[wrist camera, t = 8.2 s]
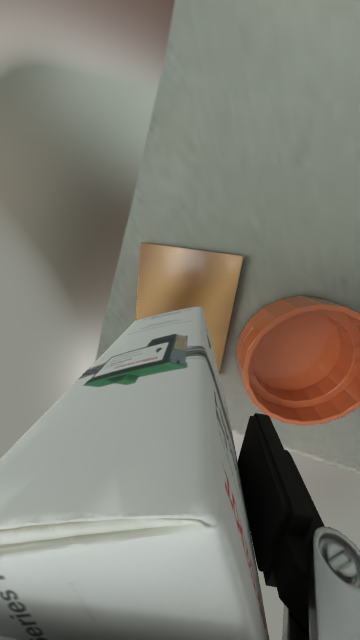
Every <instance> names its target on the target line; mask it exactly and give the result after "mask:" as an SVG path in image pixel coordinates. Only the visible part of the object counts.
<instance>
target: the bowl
mask: <svg viewBox="0 0 360 640" xmlns="http://www.w3.org/2000/svg"><path fill="white" fill-rule="evenodd" d="M236 360H237V367H238V370H239V373H240V376H241V378H242V381H243V384H244V387H245V389H246V391H247V393H248V395H249V396H250V398H251V400H252V402H253V403H254V404H255V405H256V406H257V407H258V408H259V409H260V410H261V411H263V412H264V413H265V414H266V415H268V416H270V417H272V418H274V419H277V420H279V421H281V422H283V423H289V424H296V425H303V426H304V425H314V424H323V423H327V422H330V421H333V420H336V419H339V418H342V417H343V416H346V415H347V414H349V413H350V412H352V411H354V410H355V409H357V408H358V407H360V314H359V313H357V312H355V311H353V310H351V309H349V308H347V307H345V306H342V305H339V304H336V303H333V302H331V301H328V300H325V299H322V298H317V297H309V296H295V297H289V298H283V299H280V300H278V301H276V302H274V303H271V304H269V305H267V306H265V307H263V308H262V309H261V310H260V311H259V312H257V313H256V314H255V315H254V316H253V317H252V318H251V319H250V320H249V321H248V322H247V324H246V326H245V327H244V329H243V330H242V332H241V334H240V336H239V339H238V343H237V348H236Z"/></svg>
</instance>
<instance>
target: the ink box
mask: <svg viewBox="0 0 360 640" xmlns="http://www.w3.org/2000/svg"><path fill="white" fill-rule="evenodd" d="M0 636H3V637H9V638H14V639H20V640H269V635H268V630H267V624H266V618H265V612H264V607H263V601H262V595H261V589H260V584H259V578H258V572H257V566H256V561H255V555H254V550H253V544H252V538H251V533H250V526H249V521H248V516H247V510H246V505H245V500H244V494H243V489H242V484H241V479H240V473H239V467H238V462H237V457H236V452H235V446H234V441H233V436H232V430H231V425H230V420H229V416H228V411H227V406H226V402H225V397H224V393H223V389H222V385H221V380H220V376H219V372H218V368H217V363H216V359H215V355H214V351H213V347H212V343H211V338H210V334H209V330H208V326H207V322H206V318H205V314H204V311H203V308H202V307H191V308H185V309H181V310H176V311H171V312H167V313H163V314H158V315H155V316H150V317H147V318H143V319H139V320H136V321H134V322H133V323H132V324H131V326H130V327H129V328H128V329H127V330H126V331H125V332H124V333H123V334H122V335H121V336H120V337H119V338H118V339H117V340H116V341H115V342H114V343H113V344H112V345H111V346H110V347H109V348H108V349H107V350H106V351H105V352H104V353H103V354H102V355H101V356H100V357H99V358H98V360H97V361H96V362H95V363H94V364H93V365H92V366H91V367H90V368H89V369H88V370H87V371H86V372H85V373H84V374H83V375H82V376H81V377H80V378H79V379H78V380H77V381H76V382H75V383H74V384H73V385H72V386H71V387H70V388H69V389H68V390H67V391H66V392H65V393H64V394H63V395H62V396H61V397H60V398H59V399H58V400H57V402H56V403H55V404H54V405H53V406H52V407H50V408H49V409H48V411H47V412H46V413H45V414H44V415H43V416H42V417H41V418H40V419H39V420H38V421H37V422H36V423H35V424H34V425H33V426H32V427H31V428H30V429H29V430H28V431H27V432H26V433H25V434H24V435H23V436H22V437H21V438H20V439H19V440H18V442H16V443H15V445H14V446H12V448H11V449H10V450H9V451H8V452H7V453H6V454H5V455H4V456H3V457H2V458H1V459H0Z"/></svg>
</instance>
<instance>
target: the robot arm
mask: <svg viewBox="0 0 360 640" xmlns="http://www.w3.org/2000/svg"><path fill="white" fill-rule="evenodd" d="M238 467H239V473H240V479H241V484H242V489H243V494H244V500H245V505H246V510H247V516H248V521H249V526H250V531H251V537H252V542H253V547H254V552H255V557H256V562H257V566H258V569H259V571H262V572H263V574H264V578H265V583H266V585H267V586H273V587H277V590H278V594H279V598H280V599H281V601H282V602H283V603H284V615H283V616H284V617H283V636H282V640H360V550H359V549H358V548H357V546H356V545H355V544H354V543H353V542H352V541H351V540H349V539H348V537H346V536H345V535H343V534H342V533H341V532H339V531H337V530H335V529H333V528H330V527H325V526H324V524H323V522H322V520H321V518H320V516H319V514H318V511H317V509H316V507H315V505H314V503H313V501H312V499H311V497H310V494H309V492H308V490H307V488H306V486H305V484H304V482H303V480H302V478H301V475H300V473H299V471H298V469H297V467H296V465H295V463H294V461H293V458H292V456H291V455H290V453H289V452H288V451H287V450H284V448H283V446H282V444H281V441H280V439H279V437H278V435H277V432H276V430H275V428H274V426H273V424H272V421H271V419H270V417H269V416H268V415H264V414H257V413H255V414H254V416H250V418H249V422H248V425H247V429H246V433H245V436H244V440H243V444H242V448H241V451H240V455H239V459H238ZM0 640H20V639H14V638H9V637H3V636H0Z"/></svg>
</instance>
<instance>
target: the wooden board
mask: <svg viewBox="0 0 360 640" xmlns="http://www.w3.org/2000/svg"><path fill="white" fill-rule="evenodd" d="M243 257H244V256H240V255H232V254H225V253H217V252H210V251H202V250H194V249H187V248H179V247H172V246H164V245H156V244H149V243H141V249H140V264H139V279H138V294H137V309H136V320H139V319H143V318H147V317H150V316H155V315H158V314H163V313H167V312H171V311H176V310H181V309H185V308H191V307H202V308H203V311H204V314H205V318H206V322H207V326H208V330H209V334H210V338H211V343H212V347H213V351H214V355H215V359H216V363H217V368H218V372H219V373H220V368H221V363H222V358H223V354H224V349H225V344H226V339H227V334H228V329H229V324H230V320H231V315H232V310H233V305H234V300H235V295H236V291H237V286H238V281H239V276H240V271H241V266H242V261H243Z"/></svg>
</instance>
